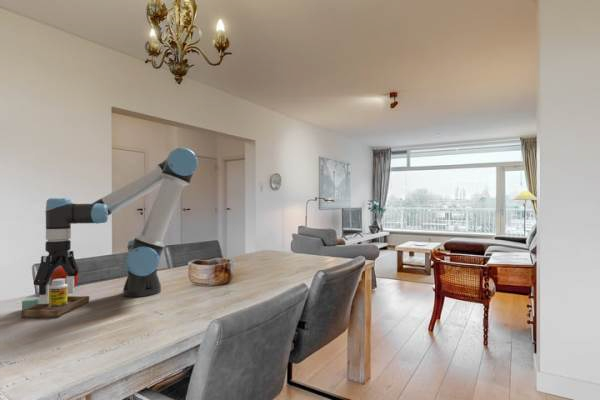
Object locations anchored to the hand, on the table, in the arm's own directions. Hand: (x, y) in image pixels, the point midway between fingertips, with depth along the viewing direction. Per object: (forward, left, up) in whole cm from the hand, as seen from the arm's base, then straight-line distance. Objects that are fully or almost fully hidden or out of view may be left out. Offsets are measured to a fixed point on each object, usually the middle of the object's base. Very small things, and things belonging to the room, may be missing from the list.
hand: (57, 298), depth 123 cm
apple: (+16, -28, -4) cm, 32 cm away
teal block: (+10, 0, -4) cm, 10 cm away
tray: (0, 0, -4) cm, 4 cm away
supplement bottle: (0, 0, -4) cm, 4 cm away
